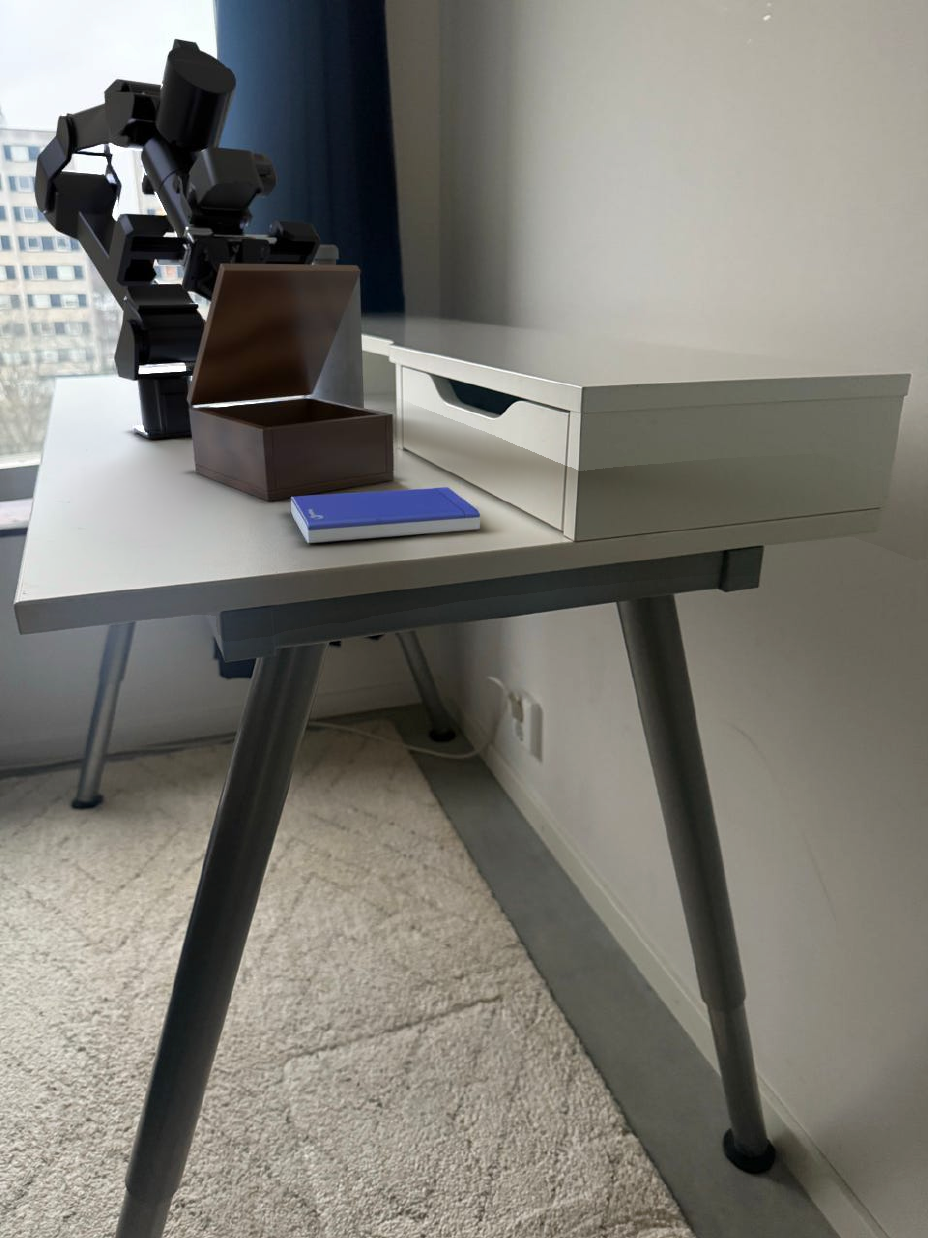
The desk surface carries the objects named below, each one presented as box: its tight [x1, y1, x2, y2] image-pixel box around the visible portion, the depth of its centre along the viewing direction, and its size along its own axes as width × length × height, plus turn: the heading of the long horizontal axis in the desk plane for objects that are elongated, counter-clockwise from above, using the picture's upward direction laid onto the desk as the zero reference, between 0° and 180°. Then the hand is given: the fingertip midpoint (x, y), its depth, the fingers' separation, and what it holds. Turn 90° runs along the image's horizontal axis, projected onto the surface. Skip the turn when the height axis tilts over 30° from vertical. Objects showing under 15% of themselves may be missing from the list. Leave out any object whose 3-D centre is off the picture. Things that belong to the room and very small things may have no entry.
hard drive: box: [290, 486, 481, 544], centre depth 64 cm, size 2×8×12 cm
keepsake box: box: [189, 396, 395, 502], centre depth 77 cm, size 14×13×6 cm
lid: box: [187, 264, 362, 407], centre depth 75 cm, size 14×13×1 cm
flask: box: [306, 244, 365, 408], centre depth 105 cm, size 15×6×20 cm, turn 19°
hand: (256, 323), depth 76 cm, fingers closed
